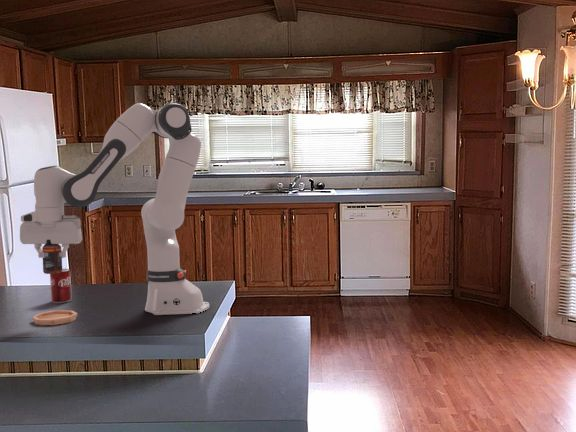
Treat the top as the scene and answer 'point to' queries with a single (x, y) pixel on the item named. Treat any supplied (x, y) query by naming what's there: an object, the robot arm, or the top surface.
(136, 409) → the top surface
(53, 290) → the soda can
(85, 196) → the robot arm
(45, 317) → the dish
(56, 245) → the supplement bottle
